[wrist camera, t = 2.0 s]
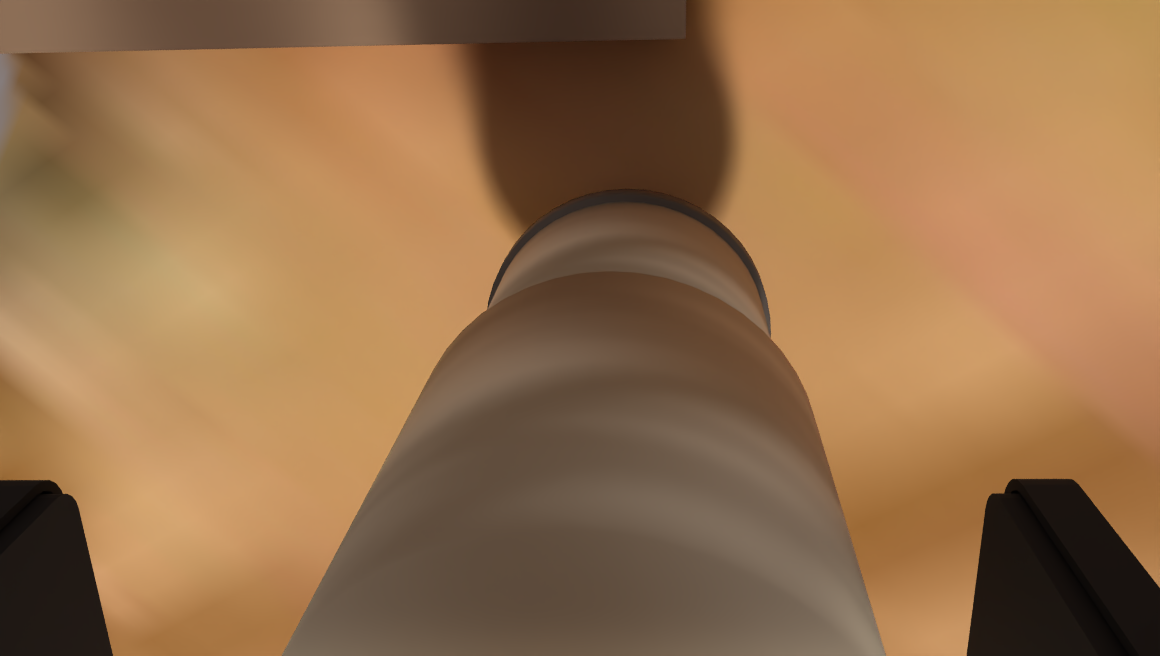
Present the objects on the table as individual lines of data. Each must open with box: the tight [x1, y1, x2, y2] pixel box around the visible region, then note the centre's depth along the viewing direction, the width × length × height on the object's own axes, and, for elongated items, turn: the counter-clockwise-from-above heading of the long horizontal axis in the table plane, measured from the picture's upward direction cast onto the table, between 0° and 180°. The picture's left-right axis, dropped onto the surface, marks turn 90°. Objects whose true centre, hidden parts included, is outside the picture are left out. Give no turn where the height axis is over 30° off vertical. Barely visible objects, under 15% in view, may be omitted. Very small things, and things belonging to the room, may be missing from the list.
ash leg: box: [282, 189, 886, 656], centre depth 15 cm, size 5×5×14 cm
